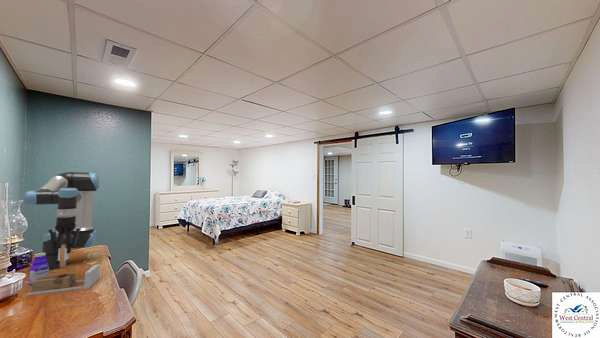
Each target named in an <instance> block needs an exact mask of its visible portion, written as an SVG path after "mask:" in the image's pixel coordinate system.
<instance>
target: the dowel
mask: <svg viewBox="0 0 600 338" xmlns="http://www.w3.org/2000/svg"><path fill="white" fill-rule="evenodd" d="M66 247H67V244H62V245H61V256H60V268H65V267H66V266H67V265H66V260H64V252H65V248H66Z"/></svg>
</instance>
